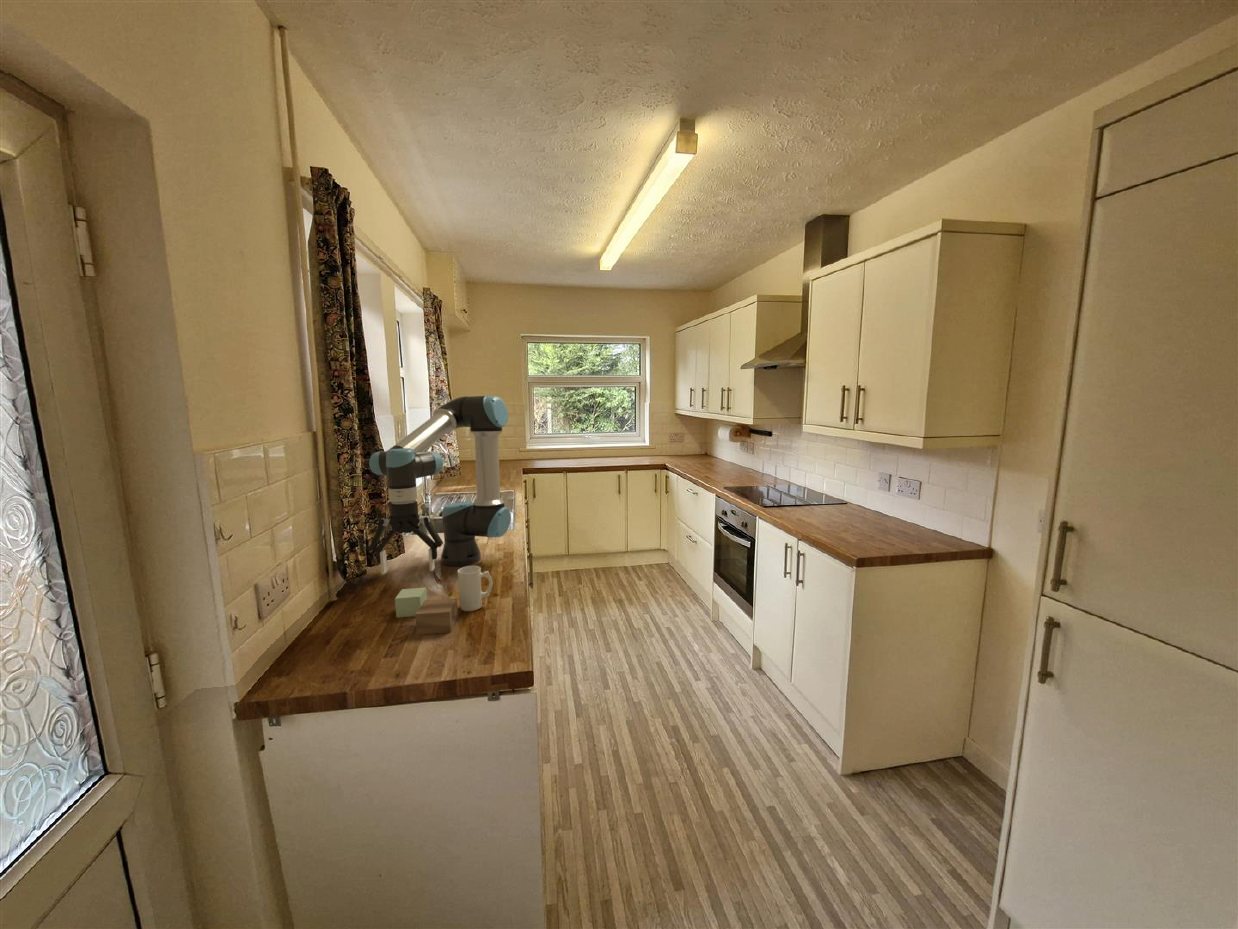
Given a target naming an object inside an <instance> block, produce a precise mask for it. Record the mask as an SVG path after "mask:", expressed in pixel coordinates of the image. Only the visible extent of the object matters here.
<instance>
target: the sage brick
mask: <svg viewBox="0 0 1238 929" xmlns="http://www.w3.org/2000/svg"><path fill="white" fill-rule="evenodd" d="M427 594H428V593H427V587H416V588H402V589H401V590H400V591H399V593H398V594H397V595H396V597H395V598H394V603H395V614H396V616H395V617H396V618H407V617H415V614H416V612H417V611H418V609H419V608H420V607H421V605H422V604H423V602H424V601H425V600H428V597H427V596H428V595H427Z"/></svg>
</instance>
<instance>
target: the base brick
mask: <svg viewBox="0 0 1238 929" xmlns="http://www.w3.org/2000/svg"><path fill="white" fill-rule="evenodd" d="M414 618H415V627H416V628H415V629H416V635H428V634H441V633H443V634H445V633H451V632H452V631H453V629H454V627H455V624H456V622H457V621H458V618H459V607H458V598H445V599H444V598H443V599H440V598H439V599H429V600H428V599H427V600H425V601H424V602H423V604H422V605H421V607H420V608H419V609H418V611H417V612H416V614H415V616H414Z"/></svg>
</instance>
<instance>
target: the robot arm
mask: <svg viewBox="0 0 1238 929" xmlns="http://www.w3.org/2000/svg"><path fill="white" fill-rule="evenodd" d="M508 420H509V412H508V407H507V405H506V403H505V402H504V400H503V399H502V398H501V397H498V396H495V395H493V396H492V395H480V396H479V395H478V396H469V395H467V396H459V397H457V398H455V399H452V400H450V401H449V402H446V403H445V404H443V405H442V406H440V407H438V408H437V409H436V410H435V411H434V412H433V414H432V416H431V417H430V418H428V420H426V421H425V422H423V423H422V424H421V425H419V426H418V427H417V428H416V429H414V430H412V432H410V433H409V434H407V435H406V436H405V437H404V438H402V439H401V440H400V441H398V442H397V443H396V444H394V445H393V446H392V447H390V448H389V449H388V450H386V451H382V450H381V451H377V452H376V451H375V452H374V453H372V454H371V456H370V458H369V460H368V465H369V468H370V470H371V472H372V473H373V474H375V475H377V476H385V477H387V485H388V486H387V487H388V489H387V490H388V501H389V502H390V503H389V516H390V517H389V518H386V517H382V518H380V519H378V528H377V530H376V532H375V534H374V535H373V539H372V541H371V543H370V545H369V547H368V550H369V551H370V552H375V553H376V562H377V563H379V564H380V570H381V572H380V573H381V575H385V574H386V573H387V572H388V563H387V562H388V560H387V552H386V549H384V548H386V546H387V544H388V543H389V542H390V541H391V539H392V538H393V537H394V536H395V534H396V533H398V534H404V533H406V534H411V533H412V532H413V534H415V535H417V536H418V537H419V538H420V539H421V540H422V541H423V542H424V543H425V544H426V545H427V546H428V547H429V549H428V564H429V565H428V566H429V572H433V571H435V570H434V569H436V568H435V560H437V558H438V548H440V547H442V545H443V548H442V552H441V554H440V563H441V564H442V565H443V566H449V567H459V566H460V567H461V566H469V565H470V564H471V565H472V564H475V563H476V562H478V561H480V560H481V558H482V556H481V554H482V553H481V550H480V548H479V545H478V542H477V540H476V537H480V538H481V537H483V538H490V539H491V538H501V537H503V536H504V535H506V533H507V531H508V529H509V527H510V524H511V520H512V515H511V514H512V513H511V511H510V509H509V508H508V507H506V506H505V501H504V500H503V499H502V498H501V484H500V480H501V478H500V455H499V452H500V451H499V448H500V446H499V435H501V433H503V428H504V427H505V426H506V425H507V424H508ZM460 428H470V429H469V430H470V433H471V434H472V435H473V436H474V448H475V449H474V450H475V451H474V452H475V474H476V500H474V502H473V501H471V500H469V501H468V500H466V501H458V502H454V503H450V504H448V505H447V504H446V505H444V507H443V508H442V516H441V518H442V525H443V526H442V527H443V539H444V540H442V538H441V536H440V535H439V533H438V531H437V530H436V529H435V527H434V525H433V524H432V520H431V516H430V515H426V516H424V517H423V516H421V517H420V516H419V506H418V504H419V503H418V501H417V499H418V490H417V479H421V478H425V477H432V476H434V475H437V474H439V473H440V472H441V471H442V470H443V467H444V459H443V456H442V455H441V454H440V453H439V452H437V451H428V449H429V448H430V447H431V446H432V445H434V444H435V443H436V442H438V441H439V440H440V439H441V438H442V437H444V436H445V435H446V434H448V433H451V432H453V431H456V430H457V429H460ZM426 450H427V451H426ZM420 523H421V524H422V525H424V526H425V529H426V530H427V532H428V533H429V535H430V536H429V535H428V534H427V533H426V532H425V531H424V530H423V529H422V527H421V526H420V525H419V524H420ZM388 524H389V525H390V526H391V528H392V529H391V530H389V532H388V533H387V535H386V537H385V538H384V539H383V540H382V541H381V543H379V542H380V539H381V537H382V535H383V533H384V530H385V529H386V527H387V526H388ZM443 541H444V542H443ZM378 544H379V545H378Z"/></svg>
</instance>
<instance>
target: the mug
mask: <svg viewBox="0 0 1238 929" xmlns="http://www.w3.org/2000/svg"><path fill="white" fill-rule="evenodd" d="M481 569H482V567H481V566H478V565H465V566H463V567H461V568H459V569H458V570H457V580H458V581H457V582H458V590H459V591H458V592H459V604H460V610H462V611H464V612H474V611H477V610H479V609H481V608H482V607H483V599H484V598H488V597H489V596H490V594H491V592H492V589H493V584H494V583H493V577H491V575H490V572H489V571H488V570H486V571H484V572H482V571H481ZM483 577H484V578H486V579H487V580H488V588H487V589H486V591H485V592H484V591H482V578H483Z"/></svg>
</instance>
